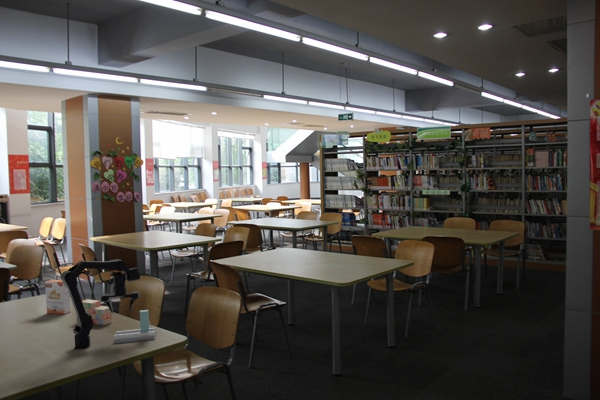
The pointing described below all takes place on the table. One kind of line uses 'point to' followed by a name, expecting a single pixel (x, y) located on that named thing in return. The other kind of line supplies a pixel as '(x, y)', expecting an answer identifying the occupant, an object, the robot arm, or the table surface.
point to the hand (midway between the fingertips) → (121, 312)
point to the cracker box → (57, 297)
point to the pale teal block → (144, 321)
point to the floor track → (134, 335)
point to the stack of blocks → (97, 312)
